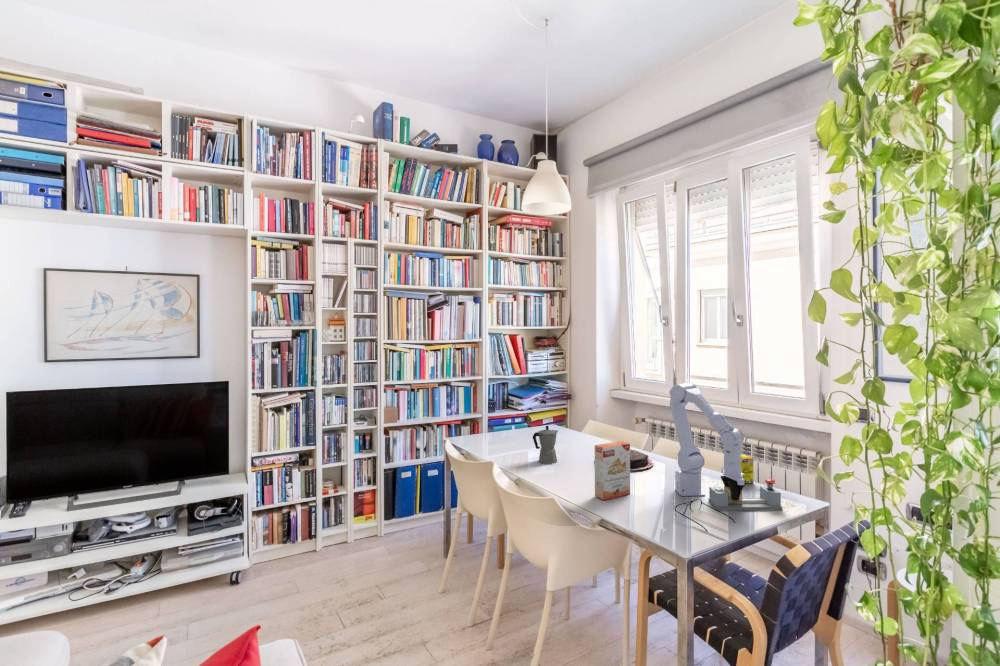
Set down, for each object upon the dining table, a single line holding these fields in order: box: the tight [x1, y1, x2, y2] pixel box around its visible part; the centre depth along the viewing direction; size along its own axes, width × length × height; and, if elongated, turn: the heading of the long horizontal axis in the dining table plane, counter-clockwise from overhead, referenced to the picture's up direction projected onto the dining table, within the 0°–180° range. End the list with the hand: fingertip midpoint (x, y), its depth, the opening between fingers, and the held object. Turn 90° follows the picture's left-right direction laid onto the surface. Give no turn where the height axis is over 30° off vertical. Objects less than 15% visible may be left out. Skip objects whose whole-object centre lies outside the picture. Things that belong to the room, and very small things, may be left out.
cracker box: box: [594, 440, 631, 501], centre depth 194 cm, size 14×6×21 cm, turn 118°
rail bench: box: [707, 485, 783, 512], centre depth 181 cm, size 23×9×6 cm, turn 88°
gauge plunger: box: [764, 478, 776, 491], centre depth 180 cm, size 3×3×4 cm
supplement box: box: [741, 454, 754, 485], centre depth 206 cm, size 6×6×11 cm
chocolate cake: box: [630, 448, 654, 472], centre depth 237 cm, size 28×28×7 cm
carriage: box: [723, 486, 743, 504], centre depth 181 cm, size 5×4×5 cm
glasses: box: [674, 498, 737, 533], centre depth 169 cm, size 14×15×5 cm
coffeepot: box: [532, 425, 559, 465], centre depth 242 cm, size 15×9×18 cm, turn 121°
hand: (732, 497), depth 181 cm, fingers closed on carriage, 4 cm apart
